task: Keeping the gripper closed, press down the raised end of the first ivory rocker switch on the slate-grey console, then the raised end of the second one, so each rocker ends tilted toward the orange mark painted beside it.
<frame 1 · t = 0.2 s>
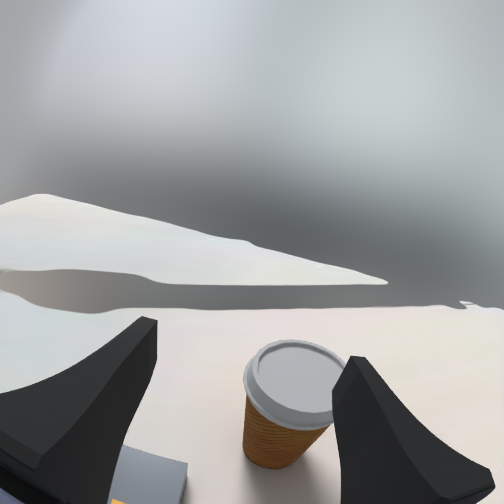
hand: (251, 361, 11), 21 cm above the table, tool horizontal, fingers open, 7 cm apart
disposable coffee cup: (271, 446, 28), on the table
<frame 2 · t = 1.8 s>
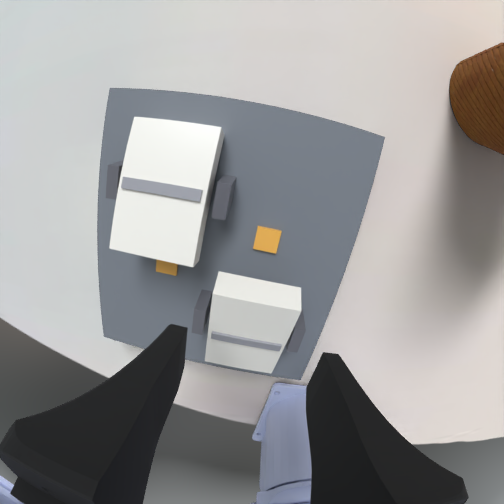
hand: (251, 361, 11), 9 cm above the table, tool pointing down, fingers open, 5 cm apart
disposable coffee cup: (481, 101, 14), on the table
rocker a: (247, 330, 16), point 5 cm above the table, hinge at -15.0°
console: (222, 235, 19), on the table
rocker b: (165, 189, 13), point 5 cm above the table, hinge at 15.0°
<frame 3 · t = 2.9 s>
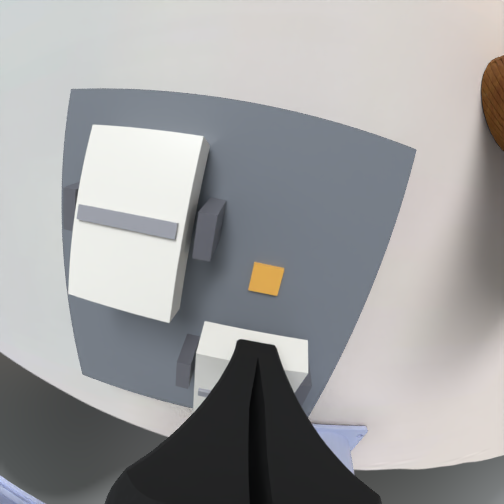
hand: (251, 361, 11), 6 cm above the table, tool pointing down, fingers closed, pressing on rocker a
rocker a: (242, 385, 12), point 5 cm above the table, hinge at -14.6°, touching gripper
console: (212, 266, 16), on the table
rocker b: (132, 219, 10), point 5 cm above the table, hinge at 15.0°
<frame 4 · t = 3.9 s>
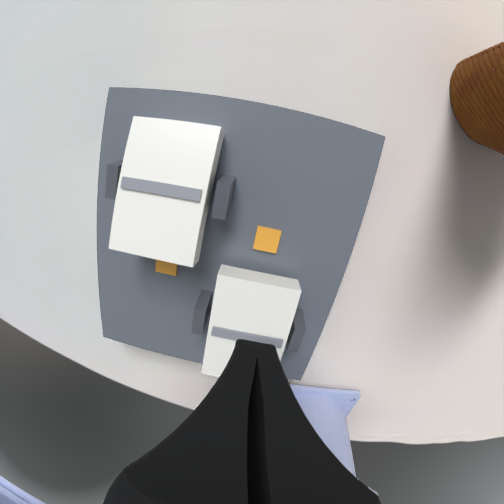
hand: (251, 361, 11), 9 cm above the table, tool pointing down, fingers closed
disposable coffee cup: (482, 101, 14), on the table
rocker a: (247, 330, 16), point 5 cm above the table, hinge at 7.8°
console: (222, 235, 19), on the table
rocker b: (164, 189, 13), point 5 cm above the table, hinge at 15.0°
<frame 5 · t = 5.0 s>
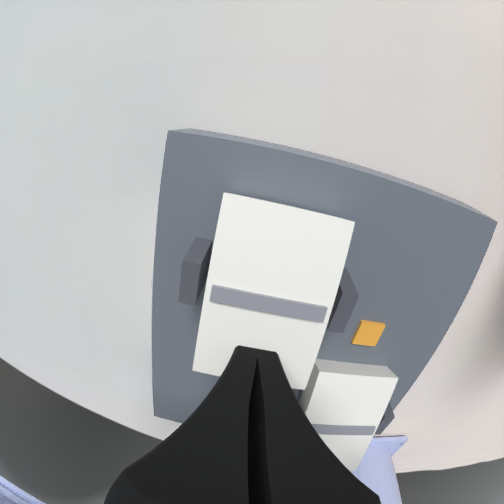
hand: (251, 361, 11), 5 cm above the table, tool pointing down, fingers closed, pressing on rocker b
rocker a: (337, 421, 13), point 5 cm above the table, hinge at 20.5°, touching console
console: (300, 312, 16), on the table
rocker b: (268, 296, 10), point 5 cm above the table, hinge at 13.5°, touching gripper
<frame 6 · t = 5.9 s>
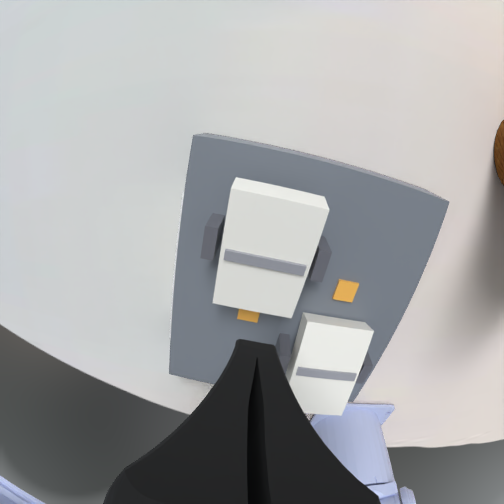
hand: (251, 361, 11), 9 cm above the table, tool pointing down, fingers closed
rocker a: (324, 368, 17), point 5 cm above the table, hinge at 16.3°
console: (292, 279, 20), on the table
rocker b: (265, 253, 14), point 5 cm above the table, hinge at -7.6°
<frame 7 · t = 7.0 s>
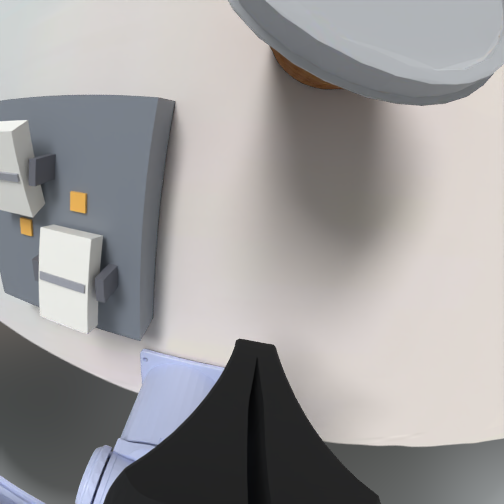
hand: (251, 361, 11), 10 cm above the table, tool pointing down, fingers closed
disposable coffee cup: (322, 43, 15), on the table
rocker a: (67, 278, 16), point 5 cm above the table, hinge at 13.3°
console: (74, 205, 20), on the table
rocker b: (8, 169, 14), point 5 cm above the table, hinge at -20.2°, touching console
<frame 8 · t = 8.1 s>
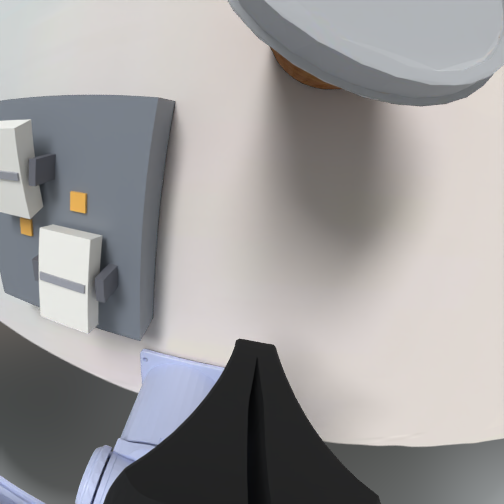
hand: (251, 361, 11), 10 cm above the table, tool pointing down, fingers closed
disposable coffee cup: (322, 43, 15), on the table
rocker a: (67, 278, 16), point 5 cm above the table, hinge at 11.7°
console: (74, 205, 20), on the table
rocker b: (8, 169, 14), point 5 cm above the table, hinge at -14.9°
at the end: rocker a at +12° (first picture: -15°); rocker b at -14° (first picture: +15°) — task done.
